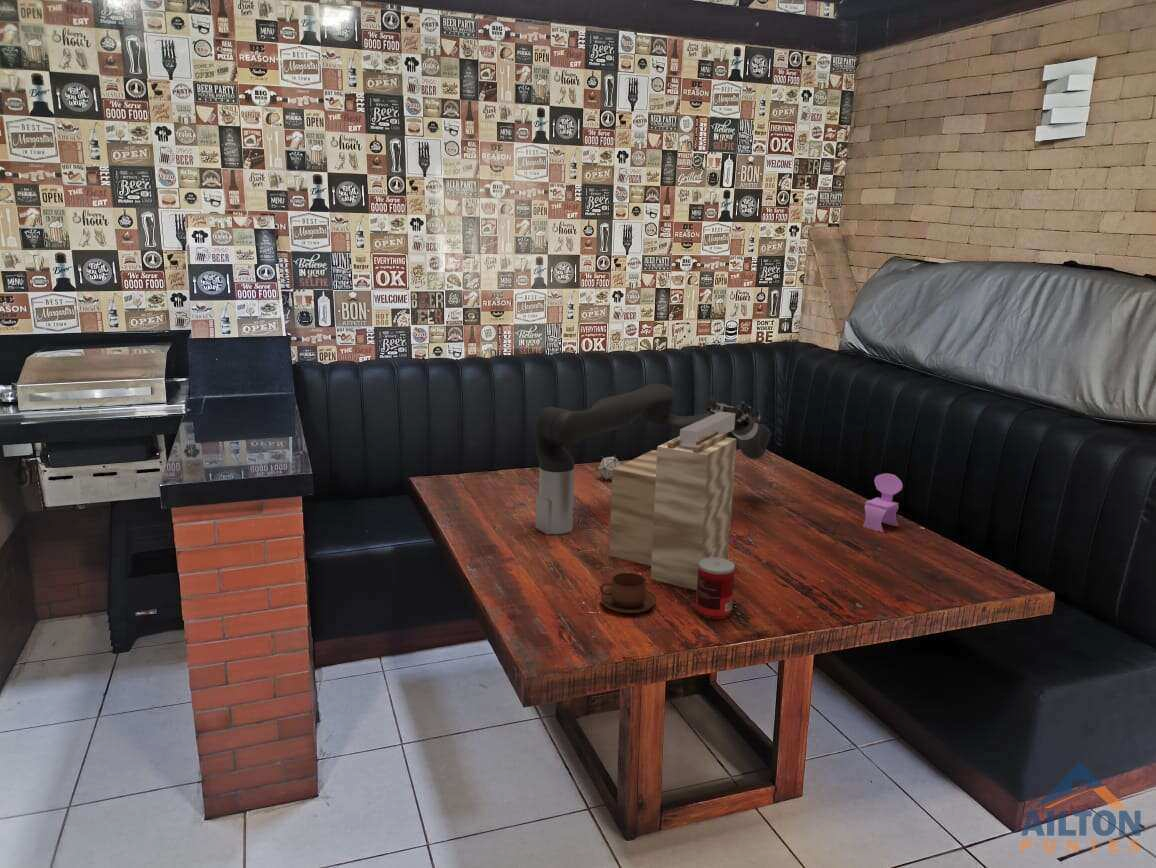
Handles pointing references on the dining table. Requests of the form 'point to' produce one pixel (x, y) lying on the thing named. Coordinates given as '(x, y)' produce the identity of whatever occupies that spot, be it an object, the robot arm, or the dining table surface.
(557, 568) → the dining table surface
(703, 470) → the stand
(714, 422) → the bar
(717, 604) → the canned food
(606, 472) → the game die
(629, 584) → the cup and saucer
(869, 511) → the toy chair
